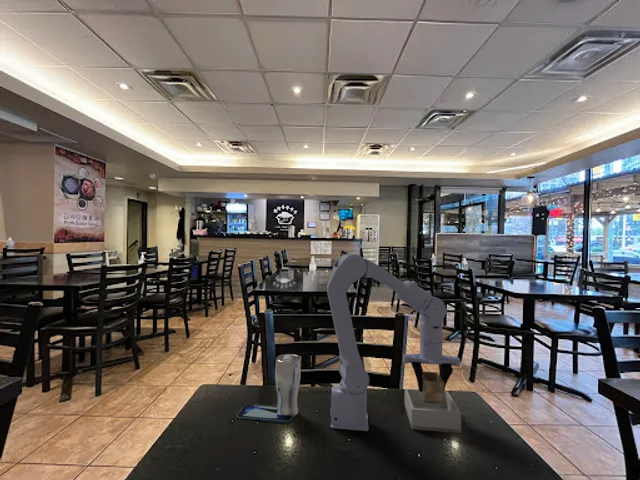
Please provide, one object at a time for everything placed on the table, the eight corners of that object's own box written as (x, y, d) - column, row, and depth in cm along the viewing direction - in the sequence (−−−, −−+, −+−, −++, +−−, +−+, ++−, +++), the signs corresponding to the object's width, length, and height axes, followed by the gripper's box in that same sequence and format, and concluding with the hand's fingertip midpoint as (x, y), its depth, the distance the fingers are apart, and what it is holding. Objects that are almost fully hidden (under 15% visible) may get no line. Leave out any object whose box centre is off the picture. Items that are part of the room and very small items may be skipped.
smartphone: (245, 403, 90) (296, 407, 88) (245, 407, 90) (296, 410, 88) (234, 417, 83) (289, 421, 81) (234, 420, 83) (289, 425, 81)
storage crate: (411, 429, 79) (411, 409, 80) (404, 405, 91) (404, 388, 92) (461, 433, 78) (461, 412, 78) (447, 408, 90) (447, 391, 90)
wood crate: (424, 402, 81) (424, 381, 82) (419, 390, 88) (419, 371, 89) (444, 404, 81) (444, 382, 81) (437, 392, 88) (437, 372, 88)
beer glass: (295, 421, 82) (297, 363, 83) (270, 417, 84) (272, 361, 84) (302, 408, 89) (303, 354, 89) (279, 405, 90) (280, 352, 91)
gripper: (406, 343, 82) (405, 395, 82) (464, 346, 81) (463, 399, 80) (402, 336, 89) (401, 384, 89) (455, 338, 88) (455, 387, 87)
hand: (430, 391), depth 85 cm, fingers closed on wood crate, 5 cm apart
